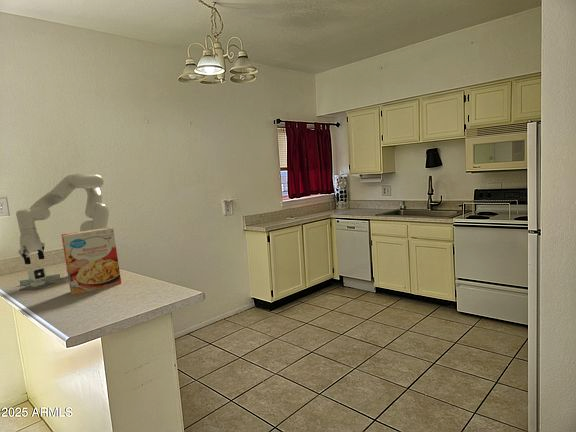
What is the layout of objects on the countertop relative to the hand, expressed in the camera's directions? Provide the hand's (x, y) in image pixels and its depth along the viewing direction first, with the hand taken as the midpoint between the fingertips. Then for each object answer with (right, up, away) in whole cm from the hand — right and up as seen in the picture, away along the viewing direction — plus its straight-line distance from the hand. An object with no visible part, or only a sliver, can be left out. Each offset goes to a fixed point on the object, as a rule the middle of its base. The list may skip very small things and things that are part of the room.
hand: (35, 261), depth 215 cm
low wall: (-3, -13, +10) cm, 17 cm away
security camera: (+1, -14, +1) cm, 14 cm away
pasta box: (+41, -12, -13) cm, 45 cm away
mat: (+1, -14, +1) cm, 14 cm away
